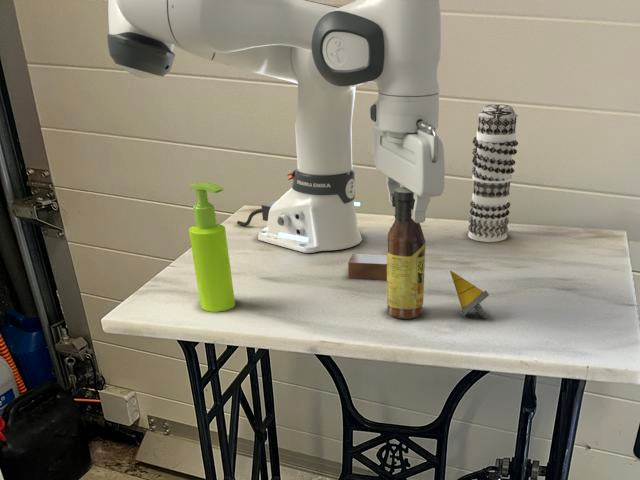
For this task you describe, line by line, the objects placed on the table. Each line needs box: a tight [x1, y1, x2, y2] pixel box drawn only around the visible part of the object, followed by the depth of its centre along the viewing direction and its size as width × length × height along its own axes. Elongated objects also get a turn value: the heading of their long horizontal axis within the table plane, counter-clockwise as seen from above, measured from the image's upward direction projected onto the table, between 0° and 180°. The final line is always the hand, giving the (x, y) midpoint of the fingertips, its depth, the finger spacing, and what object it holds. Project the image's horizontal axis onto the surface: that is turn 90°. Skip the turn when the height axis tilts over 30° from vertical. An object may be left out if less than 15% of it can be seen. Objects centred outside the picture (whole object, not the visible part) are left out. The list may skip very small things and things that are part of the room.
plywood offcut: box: [347, 253, 387, 281], centre depth 139 cm, size 8×5×3 cm, turn 83°
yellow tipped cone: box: [450, 270, 490, 319], centre depth 122 cm, size 5×5×10 cm
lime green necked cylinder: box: [188, 181, 236, 313], centre depth 121 cm, size 6×7×20 cm
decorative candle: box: [467, 103, 519, 243], centre depth 151 cm, size 9×9×25 cm
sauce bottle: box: [386, 186, 426, 320], centre depth 119 cm, size 7×6×20 cm
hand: (406, 213), depth 115 cm, fingers open, 8 cm apart
